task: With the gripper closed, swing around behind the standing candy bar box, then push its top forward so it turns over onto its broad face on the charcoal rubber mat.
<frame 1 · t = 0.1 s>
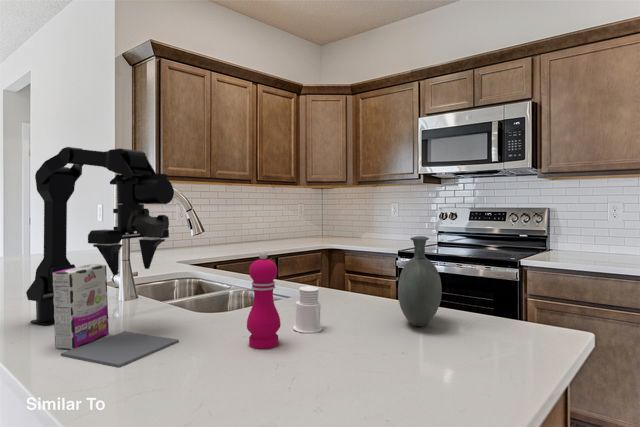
hand: (131, 271, 102), 15 cm above the worktop, tool pointing down, fingers open, 9 cm apart
candy bar box: (82, 342, 97), on the worktop
pepper mill: (263, 345, 95), on the worktop
downlight: (308, 329, 106), on the worktop
flask: (419, 325, 109), on the worktop
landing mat: (122, 348, 92), on the worktop
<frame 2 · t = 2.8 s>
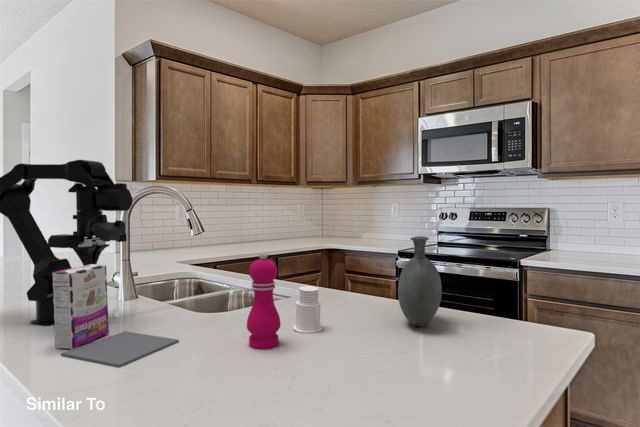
hand: (90, 273, 110), 13 cm above the worktop, tool pointing down, fingers closed
nothing on the worktop moved.
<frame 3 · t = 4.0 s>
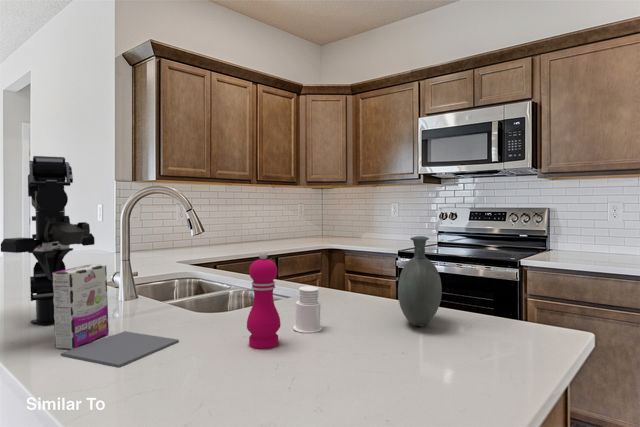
hand: (51, 279, 101), 13 cm above the worktop, tool pointing down, fingers closed
nothing on the worktop moved.
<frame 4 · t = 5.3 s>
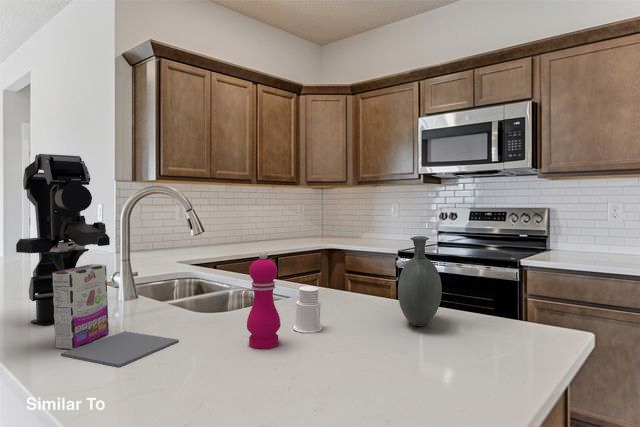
hand: (67, 281, 99), 13 cm above the worktop, tool pointing down, fingers closed
candy bar box: (82, 342, 97), on the worktop, touching gripper
everything else where it was.
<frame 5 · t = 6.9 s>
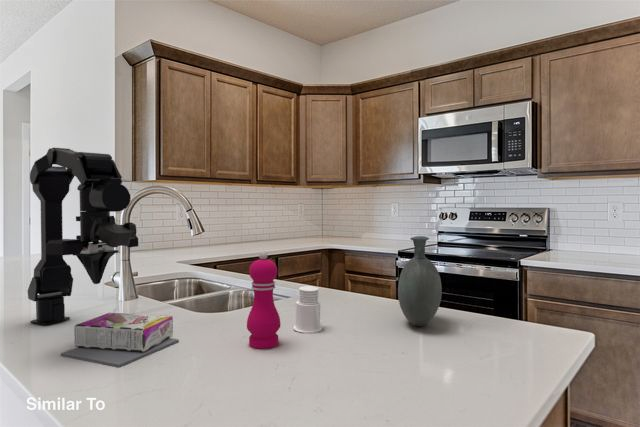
hand: (96, 283, 95), 13 cm above the worktop, tool pointing down, fingers closed
candy bar box: (91, 328, 97), point 3 cm above the worktop, touching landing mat
everything else where it was.
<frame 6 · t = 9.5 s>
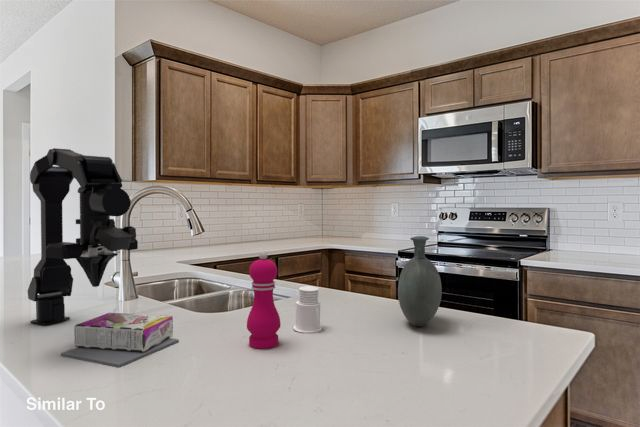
hand: (95, 286, 95), 12 cm above the worktop, tool pointing down, fingers closed
nothing on the worktop moved.
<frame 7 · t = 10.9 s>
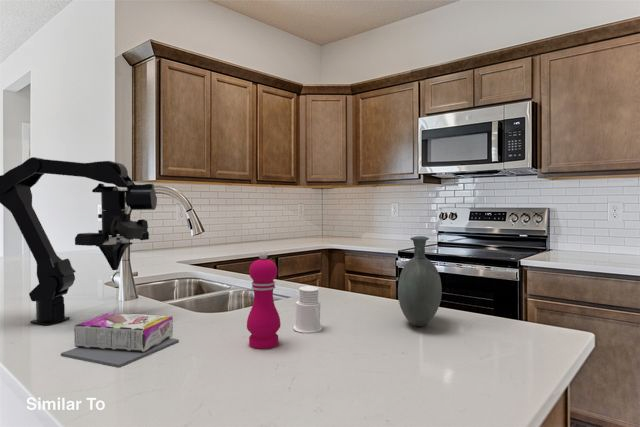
hand: (114, 270, 115), 13 cm above the worktop, tool pointing down, fingers closed
nothing on the worktop moved.
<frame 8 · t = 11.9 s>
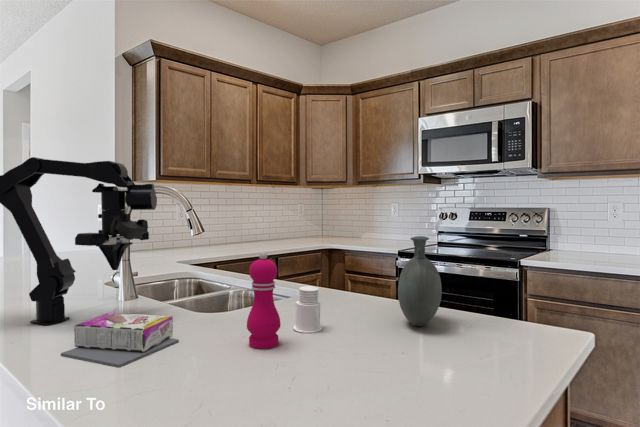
hand: (114, 269, 115), 13 cm above the worktop, tool pointing down, fingers closed
nothing on the worktop moved.
at the end: candy bar box tilted 91°; candy bar box touching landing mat; candy bar box inside the target area (6.8 cm from its centre), point 3.0 cm above the worktop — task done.
